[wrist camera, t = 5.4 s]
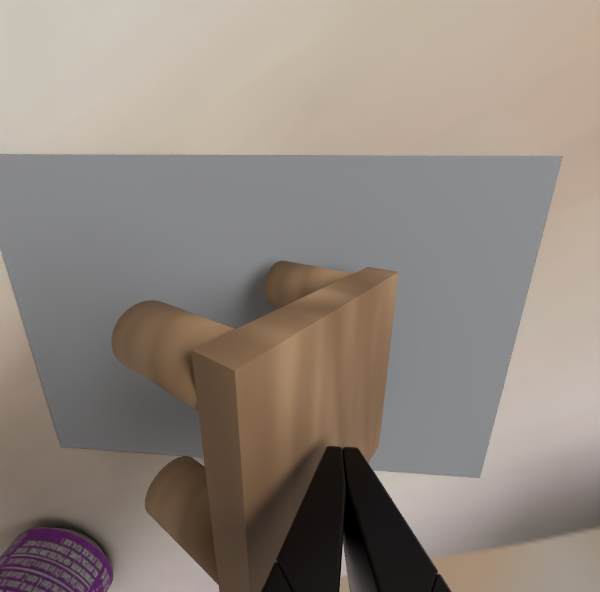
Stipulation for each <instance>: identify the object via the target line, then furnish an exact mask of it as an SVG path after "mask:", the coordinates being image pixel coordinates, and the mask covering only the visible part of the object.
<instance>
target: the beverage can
mask: <svg viewBox="0 0 600 592" xmlns="http://www.w3.org/2000/svg"><path fill="white" fill-rule="evenodd" d="M112 580H113V569H112V566H111V564H110V562H109V560H108V559H107V557H106V556H105V555H104V553H103V551H102V549H101V548H100V546H99V545H98V544H97V543H96V542H95V541H94V540H92V539H91V538H89V537H88V536H86V535H84V534H82V533H80V532H78V531H75V530H71V529H67V528H48V527H41V528H34V529H30V530H27V531H25V532H23V533H22V534H20V535H19V536H18V537H17V538H16V539H15V540H14V542H13V543H12V544H11V545H10V546H9V547H8V549H7V550H6V551H5V552H4V553H3V554H2V555H1V557H0V592H107V591H108V589H109V587H110V585H111V583H112Z"/></svg>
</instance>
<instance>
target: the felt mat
mask: <svg viewBox="0 0 600 592" xmlns="http://www.w3.org/2000/svg"><path fill="white" fill-rule="evenodd" d="M562 157H563V156H332V155H41V154H0V248H1V251H2V255H3V258H4V261H5V265H6V268H7V271H8V274H9V278H10V281H11V284H12V288H13V291H14V294H15V297H16V301H17V304H18V307H19V311H20V314H21V317H22V320H23V324H24V327H25V330H26V334H27V337H28V340H29V343H30V347H31V350H32V353H33V357H34V360H35V363H36V366H37V370H38V373H39V376H40V380H41V383H42V386H43V389H44V393H45V396H46V399H47V403H48V406H49V409H50V412H51V416H52V419H53V422H54V426H55V429H56V432H57V435H58V439H59V442H60V445H61V447H68V448H82V449H95V450H109V451H122V452H136V453H149V454H163V455H176V456H190V457H203V458H204V455H203V446H202V438H201V429H200V421H199V412H198V410H196V409H194V408H193V407H191V406H190V405H188V404H186V403H185V402H183V401H182V400H180V399H178V398H177V397H175V396H173V395H172V394H170V393H169V392H167V391H165V390H164V389H162V388H161V387H159V386H157V385H156V384H154V383H153V382H151V381H149V380H148V379H146V378H144V377H143V376H141V375H140V374H138V373H136V372H135V371H133V370H132V369H130V368H128V367H127V366H125V365H124V364H122V363H121V362H120V361H119V360H118V359H117V358H116V357H115V355H114V353H113V350H112V345H111V338H112V333H113V329H114V327H115V325H116V323H117V321H118V319H119V318H120V317H121V315H122V314H123V313H124V312H125V311H126V310H128V309H129V308H130V307H132V306H133V305H135V304H137V303H140V302H143V301H147V300H157V301H161V302H164V303H167V304H169V305H172V306H175V307H177V308H180V309H183V310H186V311H188V312H191V313H194V314H196V315H199V316H202V317H204V318H207V319H210V320H213V321H215V322H218V323H221V324H223V325H226V326H229V327H232V328H234V329H237V328H239V327H241V326H243V325H245V324H248V323H250V322H252V321H254V320H256V319H258V318H260V317H262V316H265V315H267V314H269V313H271V312H273V311H275V310H277V309H279V308H278V307H274V306H272V305H270V304H269V303H268V301H267V299H266V297H265V290H264V288H265V280H266V277H267V274H268V272H269V270H270V269H271V267H272V266H273V265H274V264H275V263H276V262H278V261H289V262H294V263H300V264H305V265H311V266H316V267H322V268H327V269H332V270H338V271H343V272H349V273H356V272H358V271H360V270H362V269H364V268H366V267H373V268H379V269H384V270H390V271H396V272H399V275H398V284H397V292H396V301H395V310H394V319H393V327H392V336H391V345H390V354H389V362H388V371H387V380H386V389H385V397H384V406H383V415H382V424H381V432H380V441H379V447H378V449H377V450H376V452H375V453H374V455H373V456H372V458H371V460H370V461H369V463H368V464H369V465H370V467H371V468H372V470H379V471H392V472H406V473H419V474H433V475H447V476H460V477H474V478H480V475H481V471H482V467H483V463H484V460H485V456H486V452H487V448H488V444H489V440H490V436H491V432H492V428H493V425H494V421H495V417H496V413H497V409H498V405H499V401H500V397H501V394H502V390H503V386H504V382H505V378H506V374H507V370H508V366H509V363H510V359H511V355H512V351H513V347H514V343H515V339H516V335H517V332H518V328H519V324H520V320H521V316H522V312H523V308H524V304H525V301H526V297H527V293H528V289H529V285H530V281H531V277H532V273H533V269H534V266H535V262H536V258H537V254H538V250H539V246H540V242H541V238H542V235H543V231H544V227H545V223H546V219H547V215H548V211H549V207H550V204H551V200H552V196H553V192H554V188H555V184H556V180H557V176H558V173H559V169H560V165H561V161H562Z"/></svg>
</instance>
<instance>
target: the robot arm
mask: <svg viewBox="0 0 600 592" xmlns="http://www.w3.org/2000/svg"><path fill="white" fill-rule="evenodd" d="M343 544H344V553H345V560H346V567H347V574H348V581H349V589H350V592H451V590H450V589H449V587H448V585H447V584H446V582H445V581H444V579H443V578H442V576H441V575H440V574H438V571H437V569H436V567H435V566H434V564H433V563H432V561H431V559H430V558H429V556H428V555H427V553H426V552H425V550H424V549H423V547H422V545H421V544H420V542H419V541H418V539H417V538H416V536H415V535H414V533H413V532H412V530H411V528H410V527H409V525H408V524H407V522H406V521H405V519H404V518H403V516H402V515H401V513H400V511H399V510H398V508H397V507H396V505H395V504H394V502H393V501H392V499H391V498H390V496H389V494H388V493H387V491H386V490H385V488H384V487H383V485H382V484H381V482H380V481H379V479H378V477H377V476H376V474H375V473H374V471H373V470H372V468H371V467H370V465H369V464H368V462H367V460H366V459H365V457H364V456H363V454H362V453H361V451H360V450H359V449H358V448H357V447H343V449H342V448H341V447H340V446H327V447H326V449H325V451H324V453H323V455H322V458H321V460H320V462H319V464H318V467H317V469H316V471H315V473H314V475H313V478H312V480H311V482H310V484H309V487H308V489H307V491H306V493H305V496H304V498H303V500H302V502H301V504H300V507H299V509H298V511H297V513H296V516H295V518H294V520H293V522H292V525H291V527H290V529H289V531H288V533H287V536H286V538H285V540H284V542H283V545H282V547H281V549H280V551H279V554H278V556H277V558H276V562H275V563H274V564H273V566H272V569H271V571H270V573H269V575H268V578H267V580H266V582H265V584H264V586H263V588H262V590H261V592H339V587H340V574H341V560H342V546H343Z"/></svg>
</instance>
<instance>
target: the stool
mask: <svg viewBox="0 0 600 592" xmlns="http://www.w3.org/2000/svg"><path fill="white" fill-rule="evenodd" d="M398 275H399V272H396V271H390V270H384V269H379V268H373V267H366V268H364V269H362V270H360V271H358V272H356V273H349V272H343V271H338V270H332V269H327V268H322V267H316V266H311V265H305V264H300V263H294V262H289V261H278V262H276V263H275V264H274V265H273V266H272V267H271V269H270V270H269V272H268V274H267V277H266V280H265V288H264V290H265V297H266V299H267V301H268V303H269V304H270V305H272V306H274V307H278V308H279V309H277V310H275V311H273V312H271V313H269V314H267V315H265V316H262V317H260V318H258V319H256V320H254V321H252V322H250V323H248V324H245V325H243V326H241V327H239V328H237V329H234V328H232V327H229V326H226V325H223V324H221V323H218V322H215V321H213V320H210V319H207V318H204V317H202V316H199V315H196V314H194V313H191V312H188V311H186V310H183V309H180V308H177V307H175V306H172V305H169V304H167V303H164V302H161V301H157V300H147V301H143V302H140V303H137V304H135V305H133V306H132V307H130V308H129V309H128V310H126V311H125V312H124V313H123V314H122V315H121V317H120V318H119V319H118V321H117V323H116V325H115V327H114V329H113V333H112V338H111V345H112V350H113V353H114V355H115V357H116V358H117V359H118V360H119V361H120V362H121V363H122V364H124V365H125V366H127V367H128V368H130V369H132V370H133V371H135V372H136V373H138V374H140V375H141V376H143V377H144V378H146V379H148V380H149V381H151V382H153V383H154V384H156V385H157V386H159V387H161V388H162V389H164V390H165V391H167V392H169V393H170V394H172V395H173V396H175V397H177V398H178V399H180V400H182V401H183V402H185V403H186V404H188V405H190V406H191V407H193V408H194V409H196V410H198V412H199V421H200V429H201V438H202V446H203V455H204V463H205V467H204V466H202V465H201V464H200V463H198V462H197V461H196V460H194V459H193V458H191V457H189V456H183V457H179V458H177V459H175V460H173V461H171V462H170V463H169V464H167V465H166V466H165V467H164V468H163V469H162V470H161V471H160V472H159V473H158V474H157V476H156V477H155V478H154V480H153V481H152V483H151V485H150V487H149V489H148V492H147V495H146V499H145V508H146V510H147V512H148V513H149V514H150V515H151V516H152V517H153V518H154V519H155V520H156V521H157V522H158V523H159V524H160V526H161V527H162V528H163V529H164V530H165V531H166V532H167V533H168V534H169V535H170V536H171V537H172V538H173V539H174V540H175V541H176V542H177V543H178V544H179V545H180V546H181V547H182V548H183V549H184V550H185V551H186V552H187V553H188V554H189V555H190V556H191V557H192V558H193V559H194V560H195V561H196V562H197V563H198V564H199V565H200V566H201V567H202V568H203V569H204V570H205V572H206V573H207V574H208V575H209V576H210V577H211V578H212V579H213V580H214V581H215V582H216V583H217V584H218V585H219V590H220V592H261V590H262V588H263V586H264V584H265V582H266V580H267V578H268V575H269V573H270V571H271V569H272V566H273V564H274V563H275V562H276V558H277V556H278V554H279V551H280V549H281V547H282V545H283V542H284V540H285V538H286V536H287V533H288V531H289V529H290V527H291V525H292V522H293V520H294V518H295V516H296V513H297V511H298V509H299V507H300V504H301V502H302V500H303V498H304V496H305V493H306V491H307V489H308V487H309V484H310V482H311V480H312V478H313V475H314V473H315V471H316V469H317V467H318V464H319V462H320V460H321V458H322V455H323V453H324V451H325V449H326V447H327V446H340V447H341V448H342V449H343V447H357V448H358V449H359V450H360V451H361V453H362V454H363V456H364V457H365V459H366V460H367V462H368V463H369V461H370V460H371V458H372V456H373V455H374V453H375V452H376V450H377V449H378V447H379V441H380V432H381V424H382V415H383V406H384V397H385V389H386V380H387V371H388V362H389V354H390V345H391V336H392V327H393V319H394V310H395V301H396V292H397V284H398Z"/></svg>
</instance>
